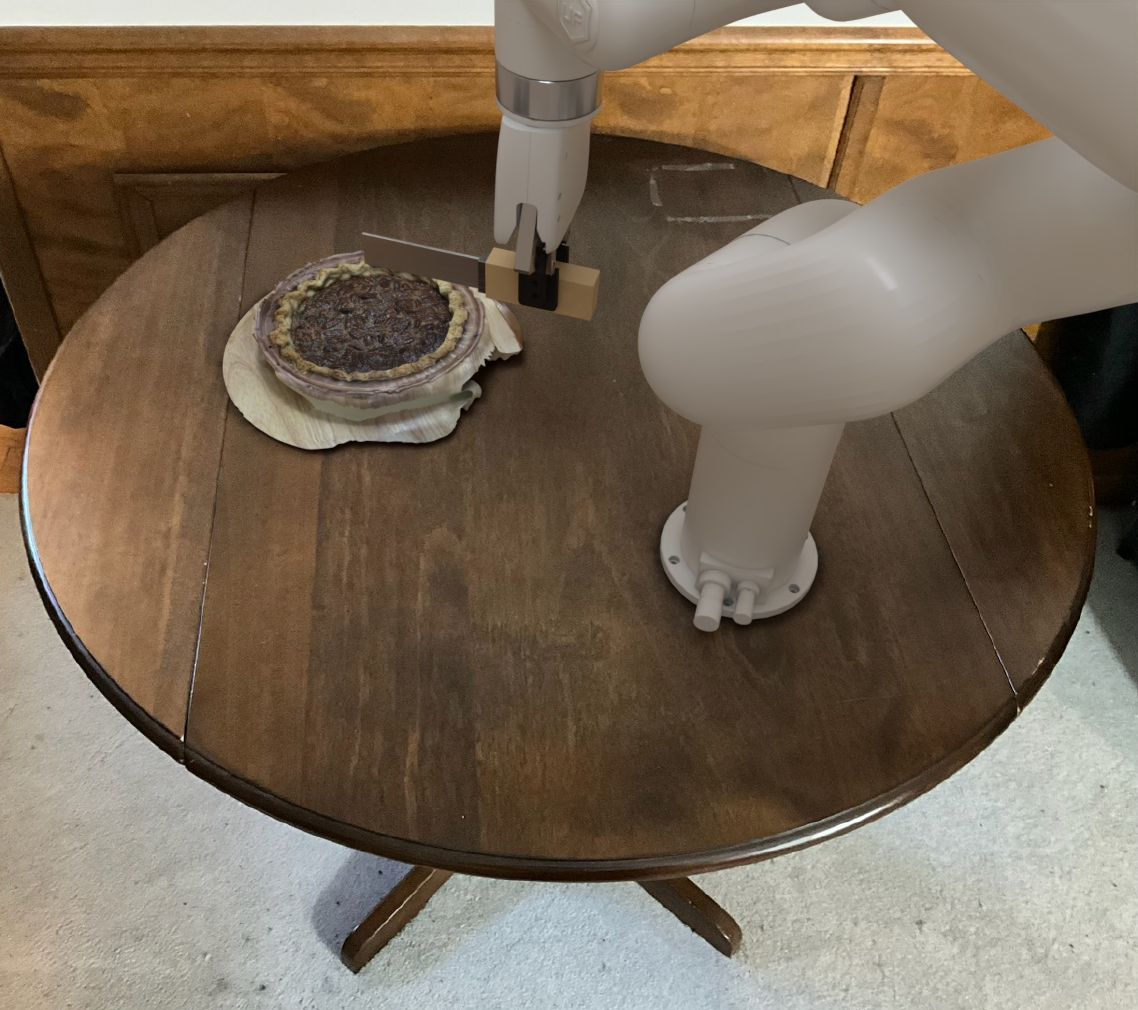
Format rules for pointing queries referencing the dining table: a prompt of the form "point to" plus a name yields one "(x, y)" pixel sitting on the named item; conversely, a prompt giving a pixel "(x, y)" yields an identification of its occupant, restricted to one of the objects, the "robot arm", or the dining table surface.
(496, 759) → the dining table surface
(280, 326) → the pie
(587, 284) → the knife
